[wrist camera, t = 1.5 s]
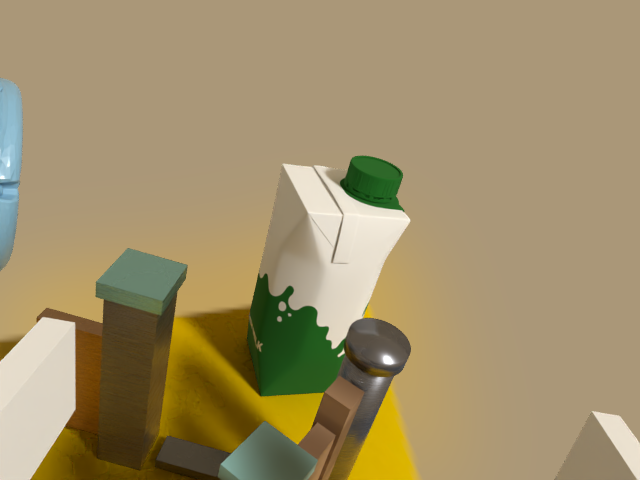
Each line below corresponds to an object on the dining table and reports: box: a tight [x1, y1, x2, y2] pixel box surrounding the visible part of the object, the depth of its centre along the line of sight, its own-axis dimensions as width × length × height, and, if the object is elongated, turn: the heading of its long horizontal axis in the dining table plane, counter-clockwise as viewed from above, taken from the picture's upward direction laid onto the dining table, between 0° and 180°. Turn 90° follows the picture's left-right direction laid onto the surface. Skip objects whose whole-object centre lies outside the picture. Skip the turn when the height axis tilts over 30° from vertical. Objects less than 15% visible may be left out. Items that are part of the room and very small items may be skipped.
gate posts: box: [37, 248, 411, 480], centre depth 31 cm, size 21×4×15 cm, turn 82°
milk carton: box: [247, 156, 410, 396], centre depth 41 cm, size 9×9×20 cm
